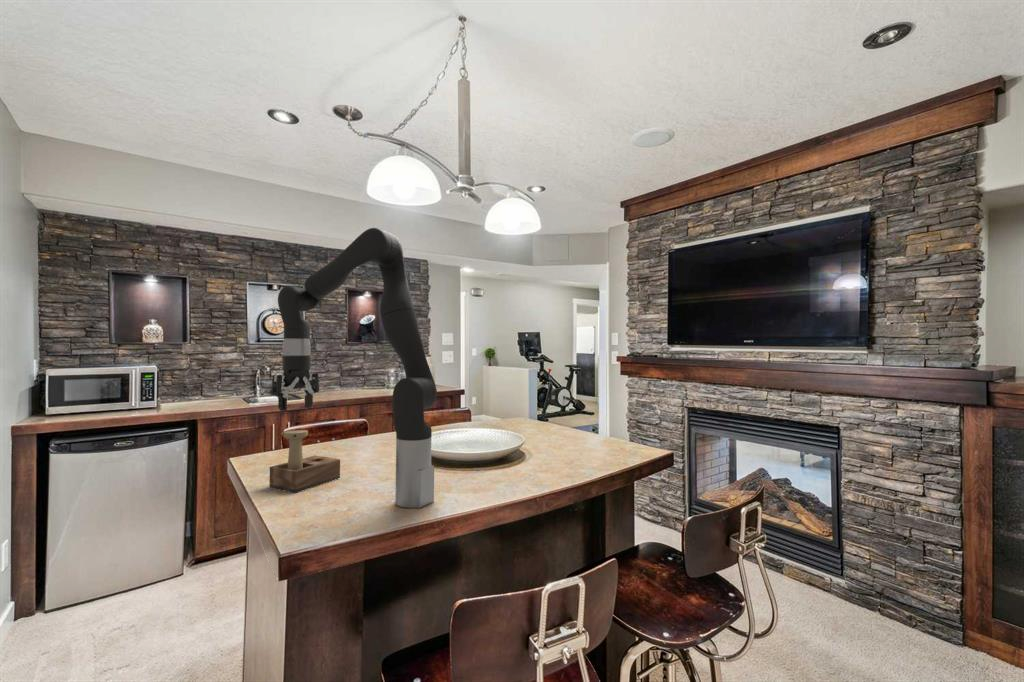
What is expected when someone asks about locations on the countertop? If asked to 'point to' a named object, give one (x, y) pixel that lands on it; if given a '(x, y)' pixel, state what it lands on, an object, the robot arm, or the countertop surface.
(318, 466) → the socket block
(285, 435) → the handle
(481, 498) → the countertop surface
